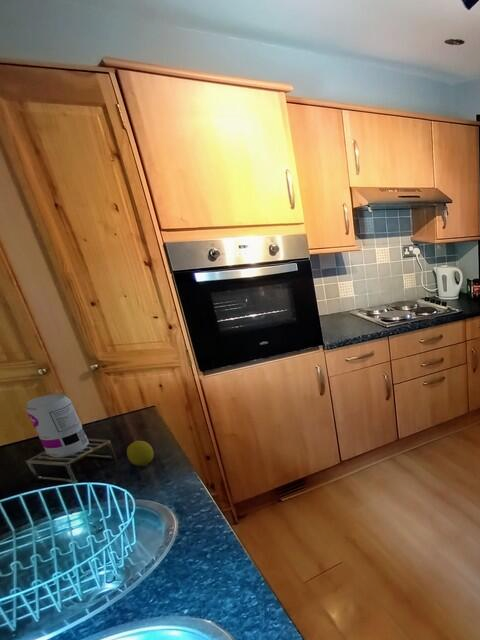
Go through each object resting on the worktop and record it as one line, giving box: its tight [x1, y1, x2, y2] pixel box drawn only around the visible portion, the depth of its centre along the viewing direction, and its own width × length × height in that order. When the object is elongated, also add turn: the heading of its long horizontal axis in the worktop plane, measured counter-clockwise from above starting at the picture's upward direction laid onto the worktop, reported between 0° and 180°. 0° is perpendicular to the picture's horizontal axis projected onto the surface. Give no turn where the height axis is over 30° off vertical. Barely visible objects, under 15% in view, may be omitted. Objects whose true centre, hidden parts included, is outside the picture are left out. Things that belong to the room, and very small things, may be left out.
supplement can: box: [25, 393, 90, 458], centre depth 117 cm, size 8×8×15 cm
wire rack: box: [24, 438, 119, 484], centre depth 121 cm, size 12×12×7 cm
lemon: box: [126, 440, 155, 467], centre depth 124 cm, size 6×6×8 cm
